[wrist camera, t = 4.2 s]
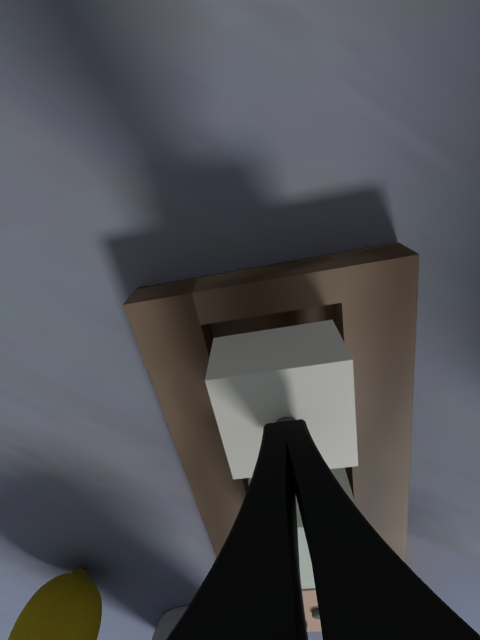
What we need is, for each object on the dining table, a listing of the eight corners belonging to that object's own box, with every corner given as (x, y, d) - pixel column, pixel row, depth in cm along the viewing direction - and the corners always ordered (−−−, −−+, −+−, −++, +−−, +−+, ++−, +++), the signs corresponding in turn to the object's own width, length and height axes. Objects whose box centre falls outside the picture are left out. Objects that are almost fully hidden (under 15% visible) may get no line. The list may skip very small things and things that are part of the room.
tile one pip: (332, 319, 14) (354, 363, 11) (339, 413, 16) (359, 470, 13) (213, 338, 14) (204, 384, 11) (236, 426, 16) (233, 483, 13)
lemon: (33, 553, 26) (-50, 706, 19) (99, 544, 25) (38, 701, 18) (67, 591, 28) (3, 740, 21) (127, 584, 27) (84, 736, 20)
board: (398, 242, 15) (419, 254, 13) (393, 575, 26) (403, 606, 24) (137, 287, 16) (123, 304, 14) (239, 586, 27) (239, 616, 25)
